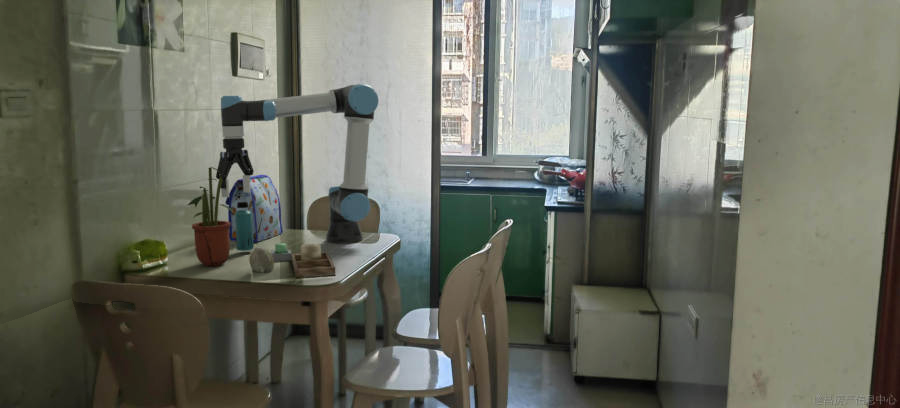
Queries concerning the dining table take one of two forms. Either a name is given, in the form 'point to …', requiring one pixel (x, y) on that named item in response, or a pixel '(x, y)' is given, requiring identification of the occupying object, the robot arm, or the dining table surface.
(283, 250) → the button
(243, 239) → the beverage bottle
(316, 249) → the block
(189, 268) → the dining table surface
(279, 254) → the button box
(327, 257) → the brown wooden tray
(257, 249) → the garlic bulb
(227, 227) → the potted plant
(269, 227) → the lunch bag
